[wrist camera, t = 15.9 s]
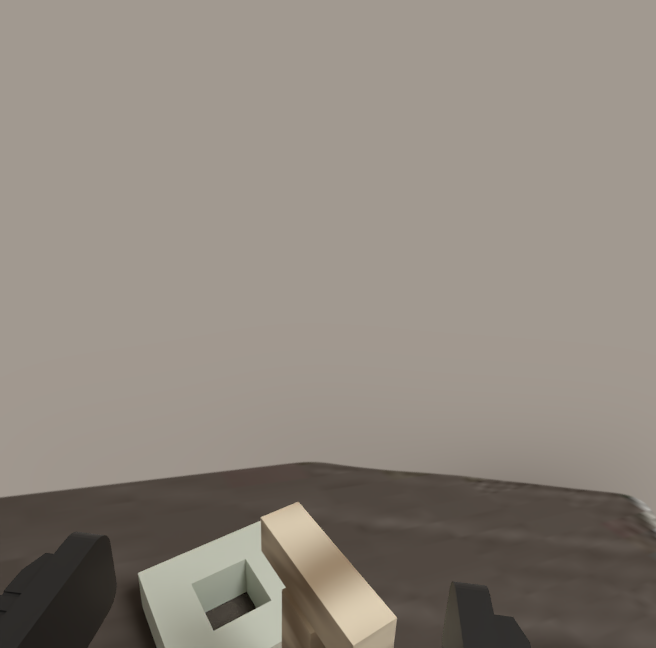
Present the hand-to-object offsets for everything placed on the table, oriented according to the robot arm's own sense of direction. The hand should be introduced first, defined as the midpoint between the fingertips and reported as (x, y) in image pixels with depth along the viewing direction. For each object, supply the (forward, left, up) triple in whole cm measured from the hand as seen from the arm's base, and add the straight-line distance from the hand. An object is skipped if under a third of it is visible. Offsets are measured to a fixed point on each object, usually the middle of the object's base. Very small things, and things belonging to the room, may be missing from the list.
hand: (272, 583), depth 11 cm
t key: (-8, +7, -29) cm, 31 cm away
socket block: (-21, +7, -30) cm, 38 cm away
